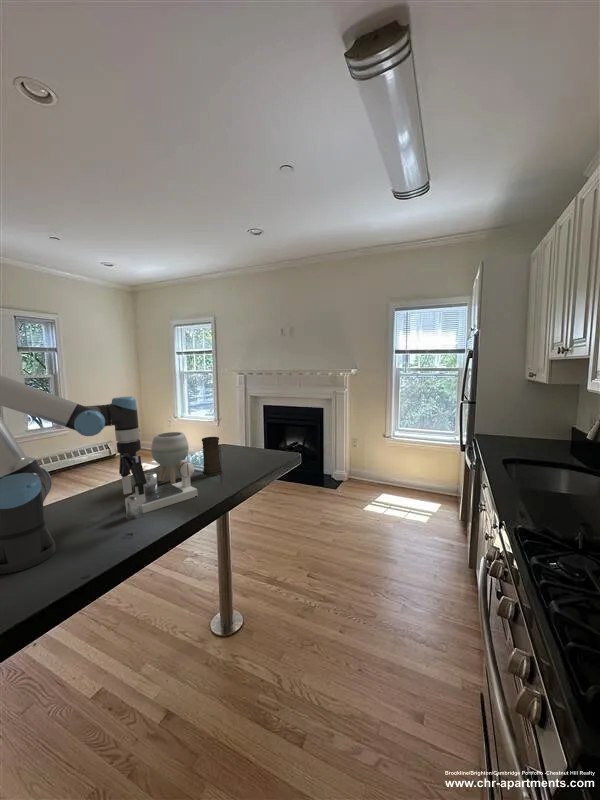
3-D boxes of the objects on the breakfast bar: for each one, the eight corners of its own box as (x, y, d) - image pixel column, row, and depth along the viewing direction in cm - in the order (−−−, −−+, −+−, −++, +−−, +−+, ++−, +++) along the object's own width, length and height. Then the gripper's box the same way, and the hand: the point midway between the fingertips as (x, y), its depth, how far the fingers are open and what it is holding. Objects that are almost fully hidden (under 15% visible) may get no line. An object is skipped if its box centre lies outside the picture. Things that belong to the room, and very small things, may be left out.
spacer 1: (129, 520, 119) (127, 501, 119) (124, 516, 123) (122, 497, 122) (144, 516, 123) (142, 497, 122) (138, 512, 127) (137, 493, 126)
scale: (142, 513, 125) (139, 476, 124) (129, 503, 135) (126, 468, 133) (202, 494, 142) (200, 462, 140) (186, 486, 152) (184, 456, 150)
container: (219, 476, 165) (217, 440, 163) (200, 476, 165) (198, 440, 163) (223, 470, 174) (221, 436, 172) (206, 470, 174) (204, 436, 172)
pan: (144, 503, 126) (144, 501, 126) (133, 495, 135) (132, 493, 135) (182, 492, 137) (182, 490, 137) (169, 485, 145) (169, 483, 145)
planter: (175, 489, 149) (171, 439, 147) (145, 485, 155) (142, 437, 152) (197, 477, 165) (194, 431, 162) (170, 474, 170) (167, 430, 167)
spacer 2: (142, 491, 137) (141, 474, 136) (154, 488, 140) (153, 471, 139) (147, 494, 133) (145, 477, 132) (159, 491, 137) (158, 474, 136)
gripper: (153, 443, 114) (158, 503, 116) (127, 434, 131) (132, 486, 134) (129, 448, 109) (136, 511, 111) (105, 437, 126) (112, 492, 129)
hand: (134, 498), depth 123 cm, fingers open, 13 cm apart
